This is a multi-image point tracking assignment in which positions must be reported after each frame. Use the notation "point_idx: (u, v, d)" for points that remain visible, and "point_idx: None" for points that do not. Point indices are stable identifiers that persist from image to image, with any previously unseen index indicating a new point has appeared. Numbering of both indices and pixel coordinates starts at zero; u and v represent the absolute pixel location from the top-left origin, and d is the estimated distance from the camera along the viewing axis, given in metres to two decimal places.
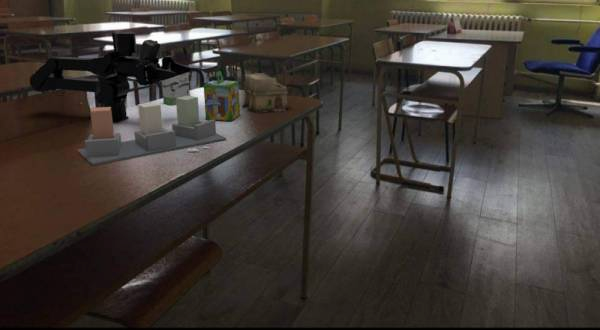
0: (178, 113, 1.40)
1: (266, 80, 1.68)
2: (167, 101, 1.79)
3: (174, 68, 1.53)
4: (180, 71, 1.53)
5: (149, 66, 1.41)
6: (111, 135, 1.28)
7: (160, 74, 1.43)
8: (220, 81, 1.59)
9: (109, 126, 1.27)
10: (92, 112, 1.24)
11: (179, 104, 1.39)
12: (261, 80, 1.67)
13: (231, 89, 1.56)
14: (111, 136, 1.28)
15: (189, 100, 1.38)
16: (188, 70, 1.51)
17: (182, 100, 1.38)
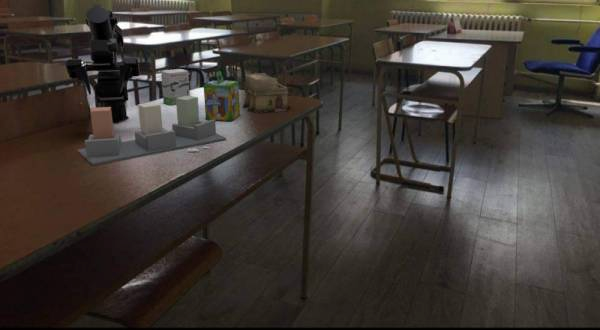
0: (178, 113, 1.40)
1: (267, 80, 1.68)
2: (167, 101, 1.79)
3: None
4: None
5: (76, 69, 1.35)
6: (111, 135, 1.28)
7: None
8: (220, 81, 1.59)
9: (109, 126, 1.27)
10: (92, 112, 1.24)
11: (179, 104, 1.39)
12: (262, 80, 1.67)
13: (231, 89, 1.56)
14: (111, 136, 1.28)
15: (189, 100, 1.38)
16: (119, 91, 1.38)
17: (182, 100, 1.38)
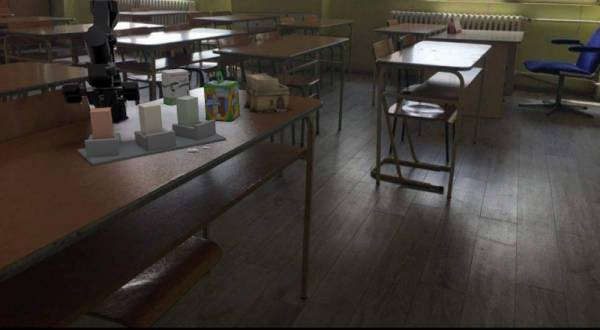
0: (178, 113, 1.40)
1: (268, 80, 1.67)
2: (167, 101, 1.79)
3: None
4: None
5: (87, 94, 1.29)
6: (111, 136, 1.27)
7: None
8: (220, 81, 1.59)
9: (109, 127, 1.26)
10: (92, 113, 1.24)
11: (179, 104, 1.39)
12: (263, 80, 1.66)
13: (231, 89, 1.56)
14: (111, 137, 1.27)
15: (189, 100, 1.38)
16: None
17: (182, 100, 1.38)
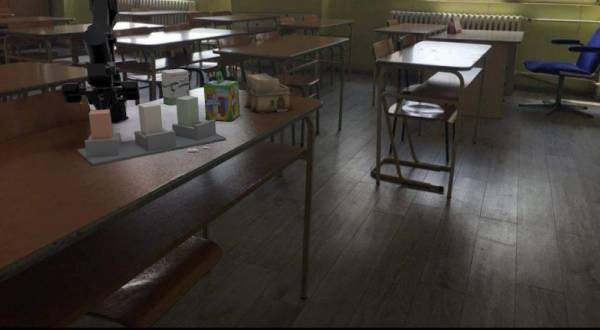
0: (178, 113, 1.40)
1: (269, 80, 1.67)
2: (167, 101, 1.79)
3: None
4: None
5: (87, 93, 1.28)
6: (110, 138, 1.25)
7: None
8: (220, 81, 1.59)
9: (108, 129, 1.24)
10: (91, 115, 1.22)
11: (179, 104, 1.39)
12: (264, 80, 1.66)
13: (231, 89, 1.56)
14: None
15: (189, 100, 1.38)
16: None
17: (182, 100, 1.38)
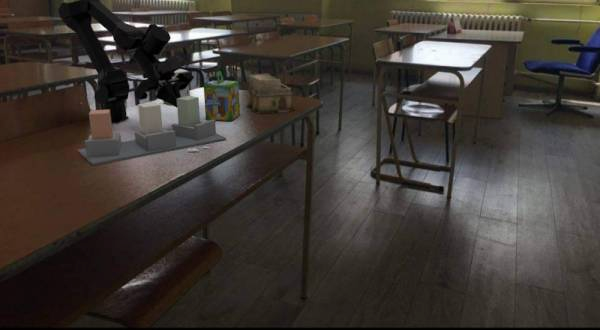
0: (179, 113, 1.40)
1: (270, 81, 1.66)
2: None
3: None
4: None
5: (164, 87, 1.39)
6: (110, 138, 1.25)
7: (170, 97, 1.42)
8: (220, 81, 1.59)
9: (108, 129, 1.24)
10: (91, 115, 1.22)
11: (180, 104, 1.39)
12: (265, 81, 1.66)
13: (231, 89, 1.56)
14: None
15: (190, 100, 1.38)
16: None
17: (183, 100, 1.38)
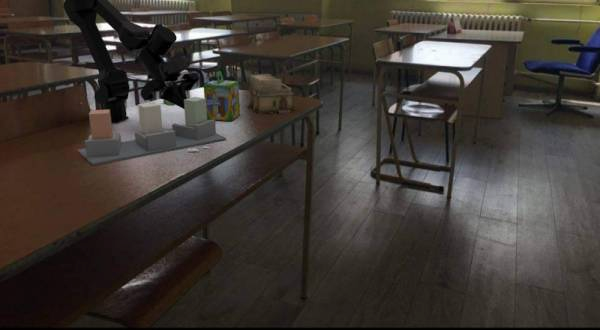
0: (186, 115, 1.39)
1: (271, 81, 1.66)
2: (167, 101, 1.79)
3: None
4: None
5: (170, 88, 1.38)
6: (110, 138, 1.25)
7: (175, 98, 1.41)
8: (220, 81, 1.59)
9: (108, 129, 1.24)
10: (91, 115, 1.22)
11: (187, 105, 1.38)
12: (265, 81, 1.65)
13: (231, 89, 1.56)
14: None
15: (197, 101, 1.37)
16: None
17: (190, 101, 1.37)
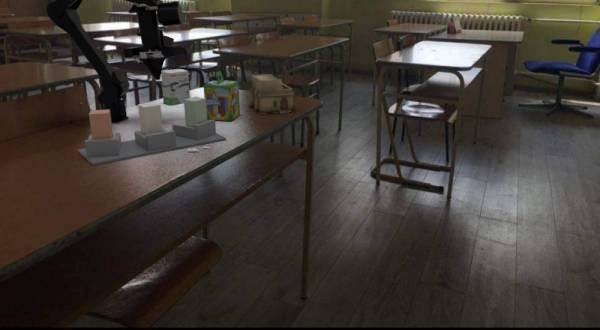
0: (186, 115, 1.39)
1: (271, 81, 1.66)
2: (167, 101, 1.79)
3: None
4: None
5: (167, 57, 1.53)
6: (110, 138, 1.25)
7: (159, 66, 1.52)
8: (220, 81, 1.59)
9: (108, 129, 1.24)
10: (91, 115, 1.22)
11: (187, 105, 1.38)
12: (266, 81, 1.65)
13: (231, 89, 1.56)
14: None
15: (197, 101, 1.37)
16: None
17: (190, 101, 1.37)
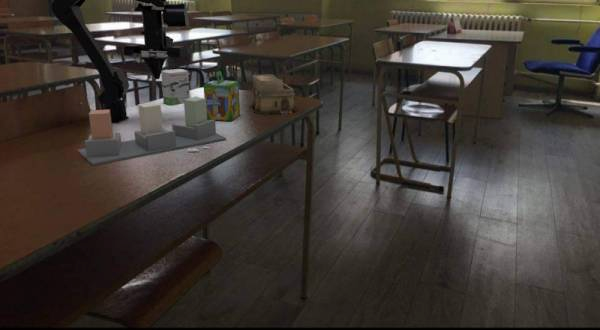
0: (186, 115, 1.39)
1: (272, 81, 1.65)
2: (167, 101, 1.79)
3: (154, 60, 1.53)
4: (154, 68, 1.53)
5: (168, 57, 1.55)
6: (110, 138, 1.25)
7: (160, 65, 1.53)
8: (220, 81, 1.59)
9: (108, 129, 1.24)
10: (91, 115, 1.22)
11: (187, 105, 1.38)
12: (267, 81, 1.65)
13: (231, 89, 1.56)
14: None
15: (197, 101, 1.37)
16: None
17: (190, 101, 1.37)
